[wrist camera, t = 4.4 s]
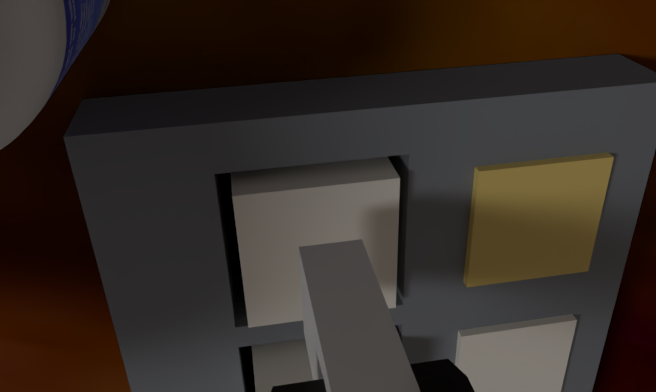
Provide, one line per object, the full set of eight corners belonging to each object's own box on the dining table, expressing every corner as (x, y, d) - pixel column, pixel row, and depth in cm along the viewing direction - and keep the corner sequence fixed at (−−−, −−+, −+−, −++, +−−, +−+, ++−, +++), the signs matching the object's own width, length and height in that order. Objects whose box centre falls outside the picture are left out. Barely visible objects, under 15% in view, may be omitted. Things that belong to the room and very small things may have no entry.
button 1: (229, 155, 18) (232, 196, 15) (378, 141, 18) (399, 178, 16) (244, 277, 20) (248, 327, 18) (376, 261, 20) (395, 307, 18)
